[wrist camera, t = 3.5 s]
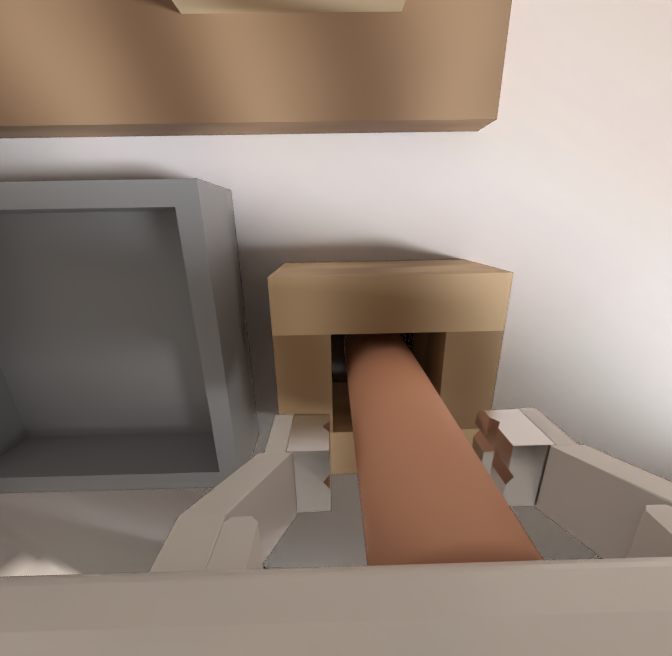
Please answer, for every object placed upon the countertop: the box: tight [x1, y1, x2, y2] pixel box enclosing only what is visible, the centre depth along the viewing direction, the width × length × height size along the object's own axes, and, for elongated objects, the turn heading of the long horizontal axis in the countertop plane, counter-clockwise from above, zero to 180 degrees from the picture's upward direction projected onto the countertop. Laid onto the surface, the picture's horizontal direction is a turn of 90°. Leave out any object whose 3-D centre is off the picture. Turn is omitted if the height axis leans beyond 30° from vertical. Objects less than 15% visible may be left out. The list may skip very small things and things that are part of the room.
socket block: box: [267, 259, 513, 474], centre depth 13 cm, size 8×8×4 cm
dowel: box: [344, 333, 543, 566], centre depth 10 cm, size 3×3×11 cm
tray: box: [0, 178, 259, 493], centre depth 13 cm, size 12×12×4 cm
